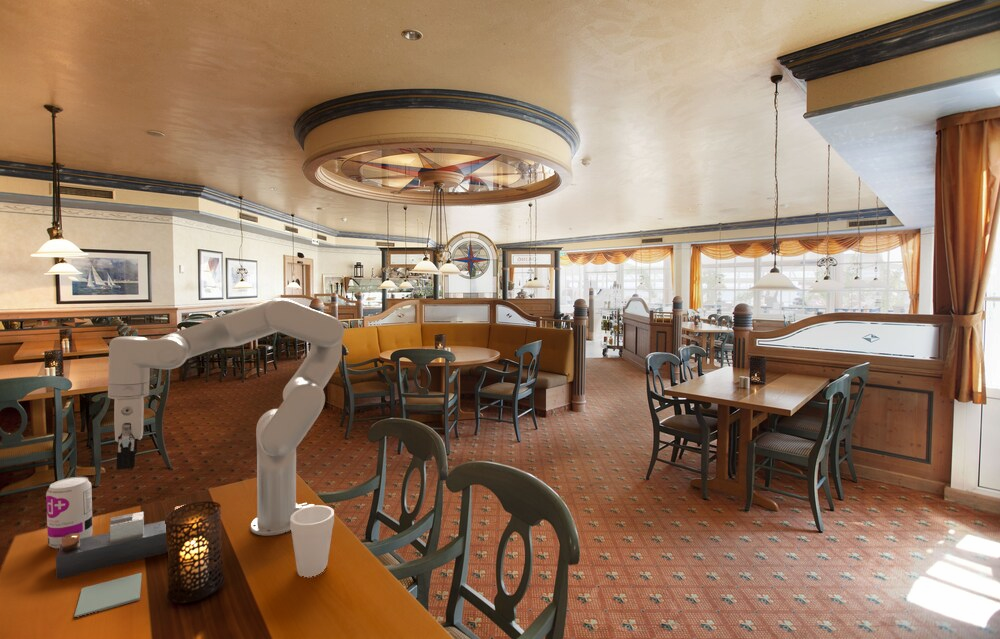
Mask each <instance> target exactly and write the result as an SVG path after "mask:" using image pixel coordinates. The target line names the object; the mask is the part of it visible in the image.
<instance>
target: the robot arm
mask: <svg viewBox="0 0 1000 639" xmlns="http://www.w3.org/2000/svg"><path fill="white" fill-rule="evenodd" d="M278 332H279V333H280V334H281V333H282V334H283V335H287V336H288V337H290V338H291V337H292V338H294V339H298V340H300V341H304V342H306V343H309V344H310V348H309V352H308V354H307V355H306V357H305V359H304V360H303V362H302V364H300V365H299V367H298V369H297V371H295V373H294V375H293V376H292V377H291V378H290V380H289V381H288V383H286V385H285V387H284V388H283V391H282V399H283V401H282V403H281V404H280V405H279V407H278V408H272V409H270V410H268V411H266V412H264V413H263V414H262V415H261V416H260V418H259V419H258V421H257V424H256V428H255V429H256V430H255V431H256V435H255V436H256V461H257V462H256V473H257V474H256V479H257V480H256V483H257V484H256V489H257V490H256V491H257V492H256V494H257V496H256V500H257V501H256V504H257V505H256V506H257V507H256V509H257V511H256V512H257V514H256V515H257V516H256V517H255V518H254V519H253V520H252V521H251V523H250V531H251V532H252V533H253V534H255V535H259V536H267V537H269V536H278V535H282V534H284V533H285V532H286V533H288V532H291V531H290V519H291V515H292V514H293V513H294V512H295V511H297V510H300V509H302V508H305V507H309V506H315V504H313V503H311V504H308V502H303V503H299V504H298V503H297V447H298V446H299V444H300V443H301V442H302V441H303V439H304V438H305V437H306V435H307V433H308V432H309V431H310V429H311V427H312V426H313V425H314V424H315V421H316V420H317V419H318V418H319V415H320V414H321V412H322V410H323V408H324V405H325V402H326V395H325V391H324V388H325V387H326V386H327V384H328V383H329V381H330V379H331V378H332V376H333V375H334V373H335V371H336V370H337V368H338V365H339V364H340V362H341V358H342V352H343V342H342V340H343V338H344V335H345V329H344V325H343V323H342V322H341V320H339V319H338V318H337V317H335V316H333V315H330V314H327V313H324V312H321V311H319V310H316V309H313V308H311V307H308V306H305V305H303V304H301V303H298V302H296V301H294V300H291V299H288V298H285V297H276V298H273V299H269V300H266V301H263V302H260V303H257V304H254V305H251V306H248V307H245V308H242V309H239V310H237V311H232V312H229V313H227V314H224V315H221V316H218V317H216V318H214V319H211V320H208V321H204V322H202V323H199V324H195V325H192V326H190V327H186V328H182V329H180V330H177V331H174V332H171V333H168V334H166V335H163V336H161V337H160V338H154V339H149V338H147V337H145V336H137V335H136V336H133V335H132V336H130V335H129V336H127V335H126V336H117V337H116V336H115V337H114V338H112V339H111V340H110V341H109V344H108V345H109V346H108V347H109V348H108V350H109V351H108V377H107V378H108V382H107V384H108V385H107V398H108V399H112V400H114V406H113V407H114V412H113V413H114V416H113V417H114V418H113V419H114V420H113V421H114V423H113V424H114V425H113V426H114V440H115V442H116V443H118V447H117V452H116V470H117V471H120V470H126V469H127V470H130V469H134V468H135V463H136V455H137V452H138V451H137V450H138V441H141V439H143V434H144V421H145V420H144V417H145V416H144V415H145V411H144V410H145V402H144V397H145V398H146V397H147V396H148V397H149V395H150V378H151V377H150V375H151V373H150V372H151V369H159V370H173V369H174V370H175V369H176V368H180V367H181V366H182V365H184V363H186V361H187V360H188V359H191V358H192V357H193V358H194V357H196V356H198V355H202V354H204V353H207V352H210V351H214V350H218V349H223V348H234V347H239V346H243V345H245V344H247V343H251V342H252V341H256V340H259V339H261V338H264V337H267V336H270V335H272V334H273V335H274V334H275V333H278ZM286 533H285V534H286Z"/></svg>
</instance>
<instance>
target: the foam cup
mask: <svg viewBox="0 0 1000 639" xmlns="http://www.w3.org/2000/svg"><path fill="white" fill-rule="evenodd" d="M334 525H335V510H334V509H333V508H332V507H330V506H327V505H323V504H321V505H319V504H317V505H314V506H309V507H305V508H302V509H300V510H297V511H295V512H294V513H293V514H292V515H291V519H290V530H291V531H290V532H291V537H292V538H291V539H292V544H293V551H294V552H293V553H294V558H295V564H296V571H297V574H298V575H299V576H300V577H302V576H304V577H303V578H305V577H307V578H313V577H312V576H314V577H317V576H316V575H318V574H320V573H321V572H323V571H324V569H325V568H326V566H328V560H329V555H330V547H331V540H332V534H333V527H334ZM324 572H325V571H324ZM324 572H323V573H324ZM321 574H322V573H321ZM321 574H320V575H321ZM309 576H310V577H309ZM318 576H319V575H318Z"/></svg>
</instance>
